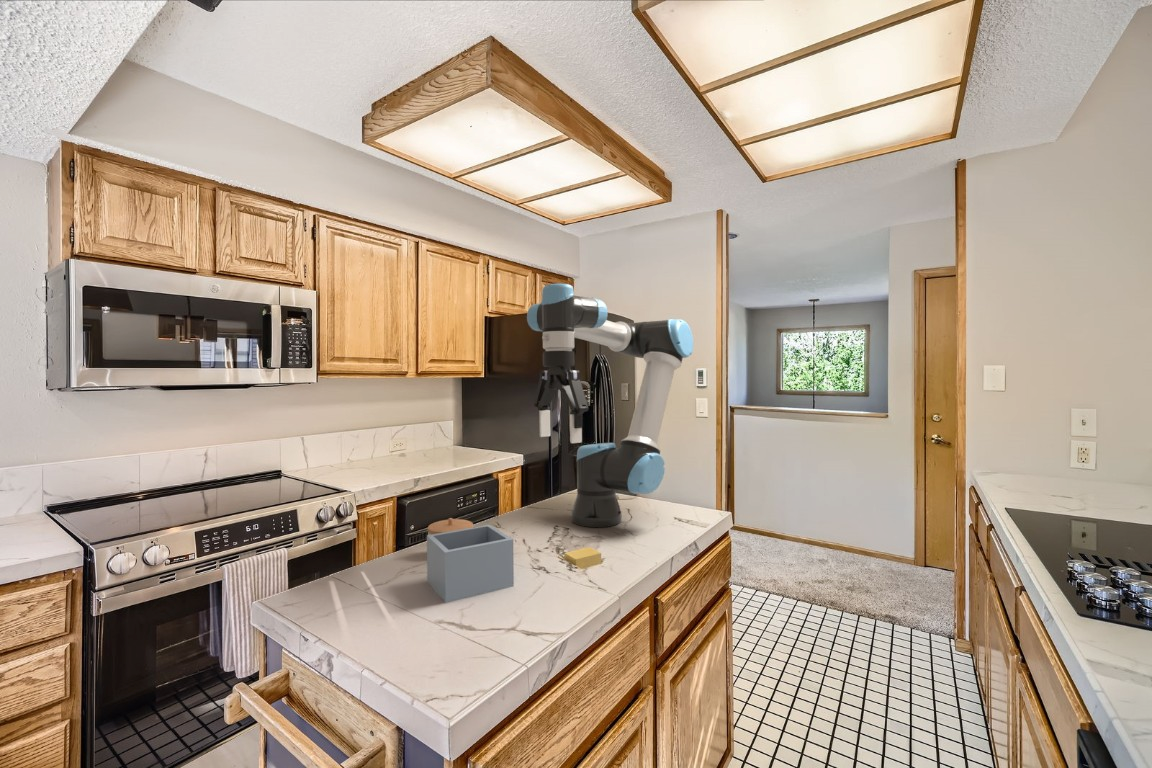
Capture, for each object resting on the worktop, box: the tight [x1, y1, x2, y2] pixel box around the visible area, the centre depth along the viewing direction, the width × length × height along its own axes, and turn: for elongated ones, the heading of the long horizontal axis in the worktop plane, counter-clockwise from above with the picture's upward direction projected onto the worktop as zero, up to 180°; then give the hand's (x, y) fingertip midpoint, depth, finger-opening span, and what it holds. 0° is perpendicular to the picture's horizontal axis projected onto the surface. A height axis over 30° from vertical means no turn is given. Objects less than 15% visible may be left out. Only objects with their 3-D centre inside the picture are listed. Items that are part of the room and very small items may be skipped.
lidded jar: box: [427, 517, 474, 535], centre depth 124 cm, size 11×11×9 cm
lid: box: [556, 546, 602, 572], centre depth 116 cm, size 21×12×2 cm, turn 122°
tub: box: [426, 524, 515, 604], centre depth 104 cm, size 14×12×11 cm
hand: (559, 439), depth 122 cm, fingers open, 13 cm apart
